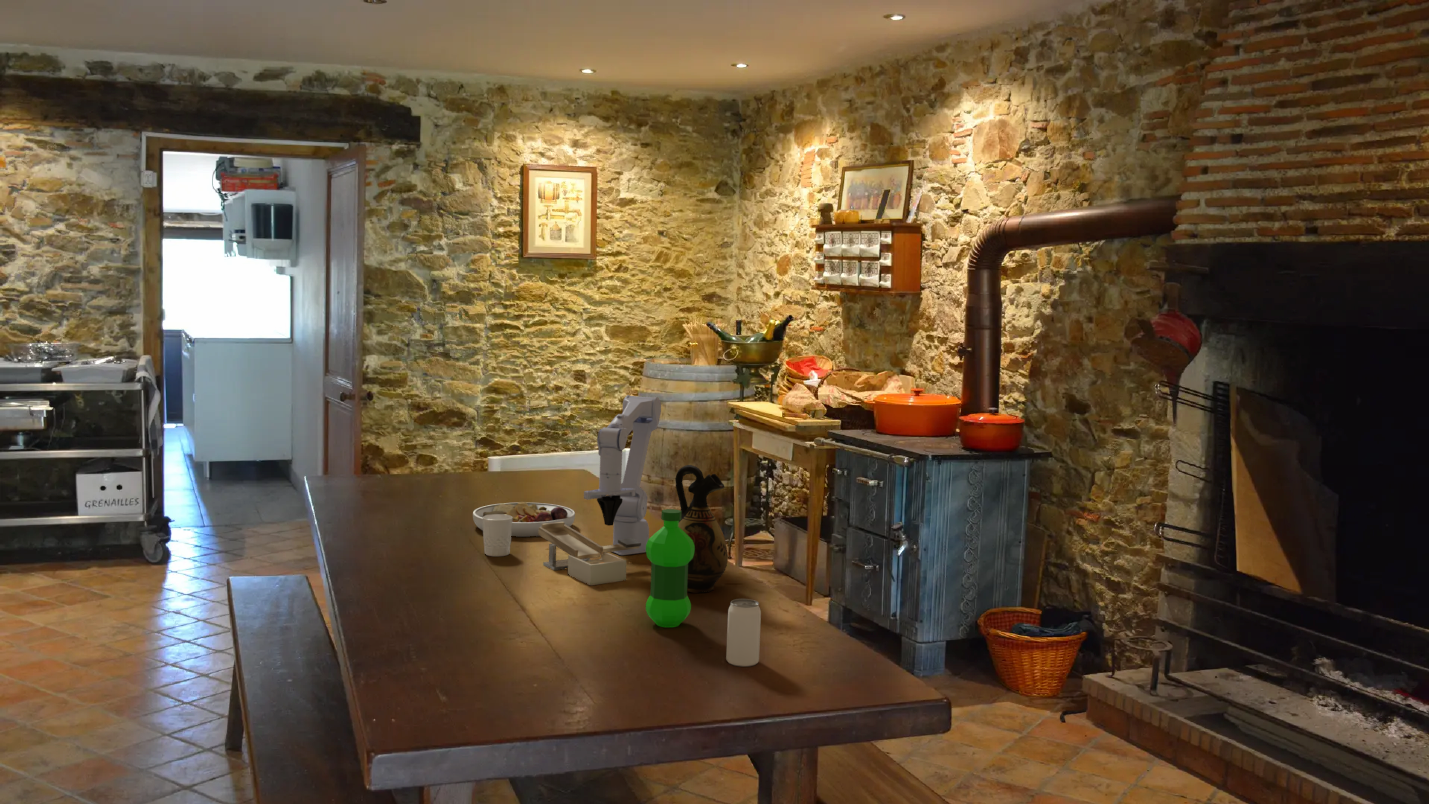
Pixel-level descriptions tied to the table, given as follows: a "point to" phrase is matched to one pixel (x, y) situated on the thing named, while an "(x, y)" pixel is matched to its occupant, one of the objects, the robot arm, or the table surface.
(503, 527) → the white cup
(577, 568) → the cream open box
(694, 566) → the ceramic jug
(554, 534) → the lever
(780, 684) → the table surface
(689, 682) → the table surface
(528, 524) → the bowl
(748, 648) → the can
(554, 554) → the lever stand
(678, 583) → the plastic bottle
